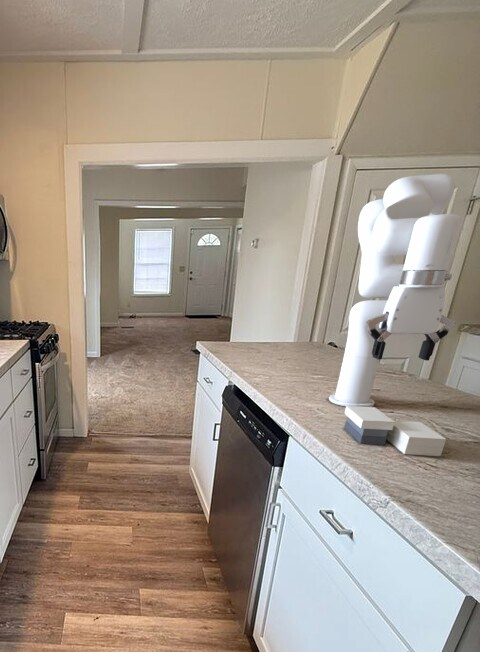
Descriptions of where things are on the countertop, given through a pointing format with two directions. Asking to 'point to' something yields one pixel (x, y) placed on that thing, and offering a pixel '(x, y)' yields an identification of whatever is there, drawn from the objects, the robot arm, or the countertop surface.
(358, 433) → the grey books
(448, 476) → the countertop surface
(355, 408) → the white book
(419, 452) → the white books
